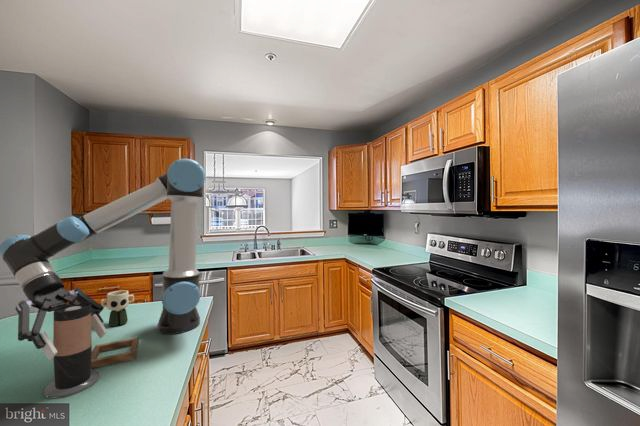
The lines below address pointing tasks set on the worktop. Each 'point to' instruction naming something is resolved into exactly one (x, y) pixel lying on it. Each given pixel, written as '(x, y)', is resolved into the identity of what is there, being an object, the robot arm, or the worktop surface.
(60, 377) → the travel mug
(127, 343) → the walnut frame
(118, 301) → the character mug
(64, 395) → the slate coaster
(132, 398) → the worktop surface
